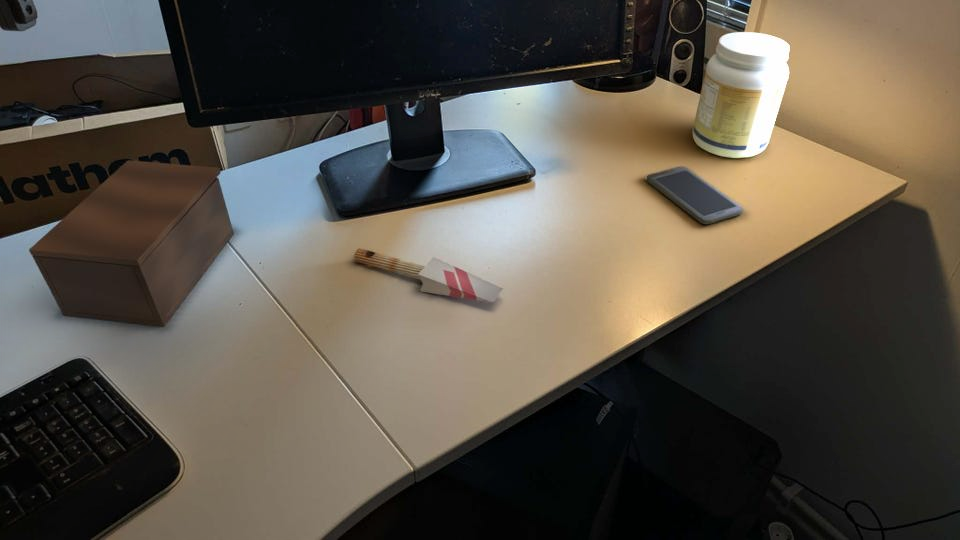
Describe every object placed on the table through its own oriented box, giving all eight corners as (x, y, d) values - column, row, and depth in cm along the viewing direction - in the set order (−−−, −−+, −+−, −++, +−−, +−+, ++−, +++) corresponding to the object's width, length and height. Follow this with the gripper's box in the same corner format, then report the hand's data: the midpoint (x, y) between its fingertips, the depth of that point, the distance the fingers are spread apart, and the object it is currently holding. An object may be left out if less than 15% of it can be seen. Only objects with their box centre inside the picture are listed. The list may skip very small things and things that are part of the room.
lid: (129, 165, 87) (127, 160, 86) (220, 173, 85) (219, 167, 85) (31, 255, 72) (28, 249, 71) (139, 266, 70) (137, 260, 70)
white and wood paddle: (490, 295, 76) (348, 253, 83) (491, 313, 77) (351, 270, 85) (505, 276, 78) (365, 237, 86) (505, 294, 80) (368, 254, 88)
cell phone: (682, 169, 104) (683, 164, 104) (745, 213, 94) (746, 209, 94) (643, 179, 102) (644, 175, 101) (704, 226, 92) (705, 221, 91)
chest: (148, 225, 92) (127, 170, 86) (234, 233, 90) (218, 177, 85) (63, 315, 77) (31, 256, 72) (164, 326, 76) (139, 266, 70)
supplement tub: (737, 122, 117) (764, 25, 107) (781, 154, 108) (815, 52, 98) (676, 132, 114) (697, 33, 104) (716, 165, 105) (743, 61, 95)
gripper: (-252, -255, 39) (-94, 40, 50) (-50, -253, 37) (68, 50, 48) (-141, -255, 45) (-21, 8, 56) (38, -254, 43) (126, 17, 54)
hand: (20, 27), depth 52 cm, fingers closed
